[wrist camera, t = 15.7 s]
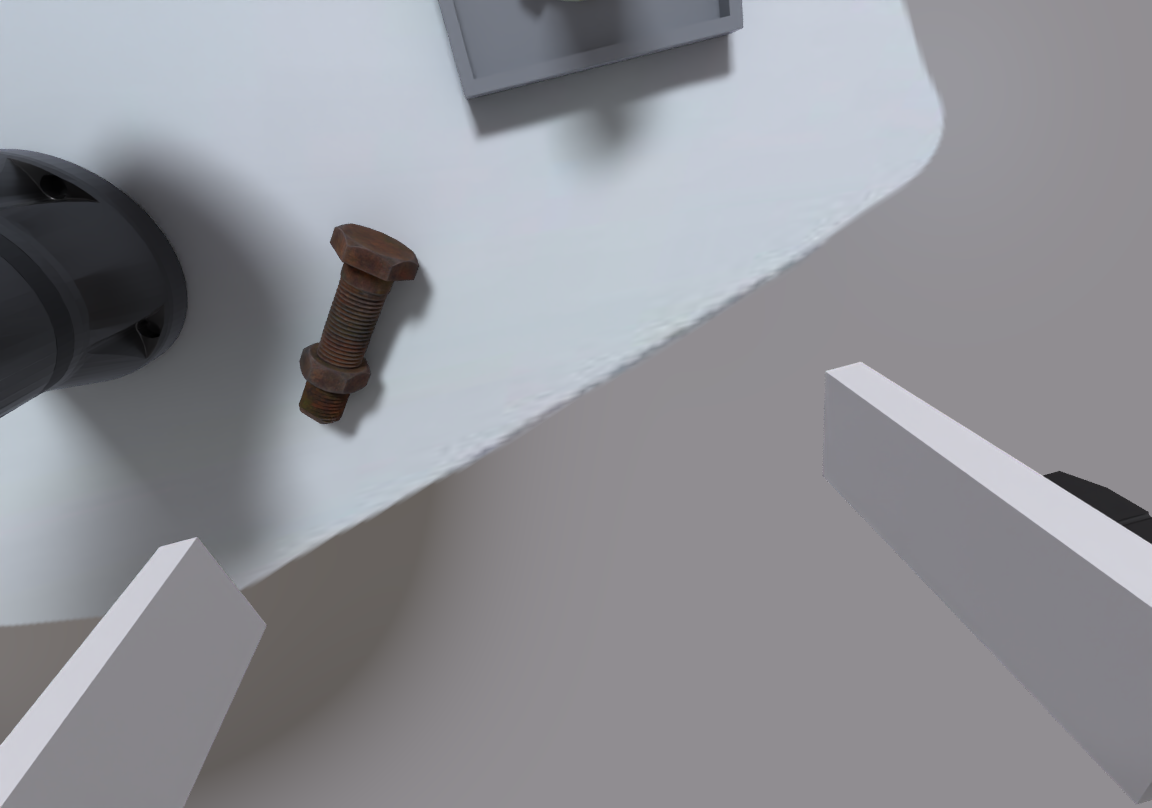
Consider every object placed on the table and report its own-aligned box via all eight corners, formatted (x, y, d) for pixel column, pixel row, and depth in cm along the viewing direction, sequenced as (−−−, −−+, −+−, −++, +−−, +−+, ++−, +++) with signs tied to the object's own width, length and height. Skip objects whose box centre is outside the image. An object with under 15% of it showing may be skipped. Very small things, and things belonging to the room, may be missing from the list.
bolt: (324, 388, 44) (380, 226, 38) (368, 421, 43) (433, 261, 38) (264, 405, 39) (319, 220, 33) (314, 443, 38) (379, 260, 32)
